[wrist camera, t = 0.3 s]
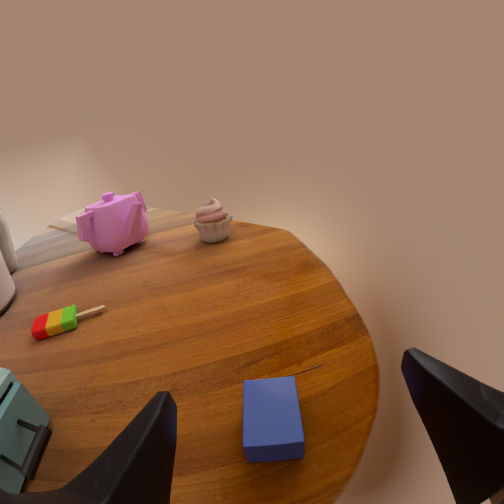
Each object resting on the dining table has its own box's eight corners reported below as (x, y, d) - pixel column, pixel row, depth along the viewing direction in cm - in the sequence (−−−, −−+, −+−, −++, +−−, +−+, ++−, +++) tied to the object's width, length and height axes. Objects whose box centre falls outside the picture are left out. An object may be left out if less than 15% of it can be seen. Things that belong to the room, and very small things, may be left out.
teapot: (153, 250, 64) (138, 189, 58) (85, 268, 59) (67, 209, 53) (151, 228, 81) (141, 180, 75) (97, 243, 76) (84, 196, 70)
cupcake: (205, 250, 61) (196, 205, 57) (191, 238, 68) (183, 199, 64) (242, 237, 65) (236, 195, 61) (224, 228, 72) (218, 190, 68)
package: (294, 397, 25) (294, 375, 23) (303, 458, 18) (304, 441, 17) (248, 402, 25) (243, 380, 23) (248, 462, 18) (242, 447, 17)
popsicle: (38, 325, 38) (34, 316, 38) (106, 303, 44) (102, 294, 44) (34, 342, 34) (29, 333, 33) (107, 319, 40) (103, 310, 39)
